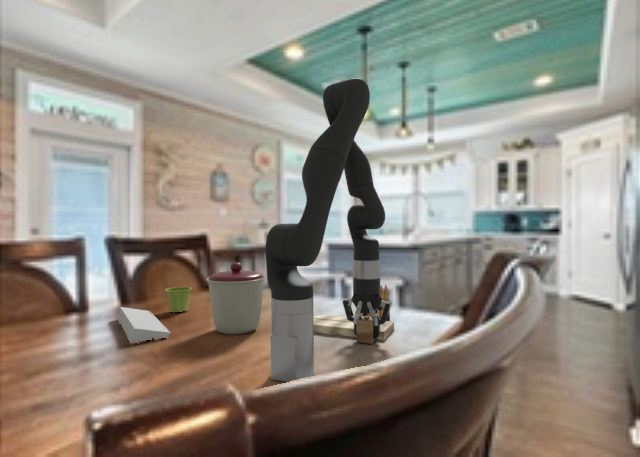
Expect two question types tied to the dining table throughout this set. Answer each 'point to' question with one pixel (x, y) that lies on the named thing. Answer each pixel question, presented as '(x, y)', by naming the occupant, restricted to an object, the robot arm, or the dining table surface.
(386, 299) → the ammunition clip
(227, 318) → the canister
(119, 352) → the dining table surface
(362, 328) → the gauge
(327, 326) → the board
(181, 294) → the plant pot
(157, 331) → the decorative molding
